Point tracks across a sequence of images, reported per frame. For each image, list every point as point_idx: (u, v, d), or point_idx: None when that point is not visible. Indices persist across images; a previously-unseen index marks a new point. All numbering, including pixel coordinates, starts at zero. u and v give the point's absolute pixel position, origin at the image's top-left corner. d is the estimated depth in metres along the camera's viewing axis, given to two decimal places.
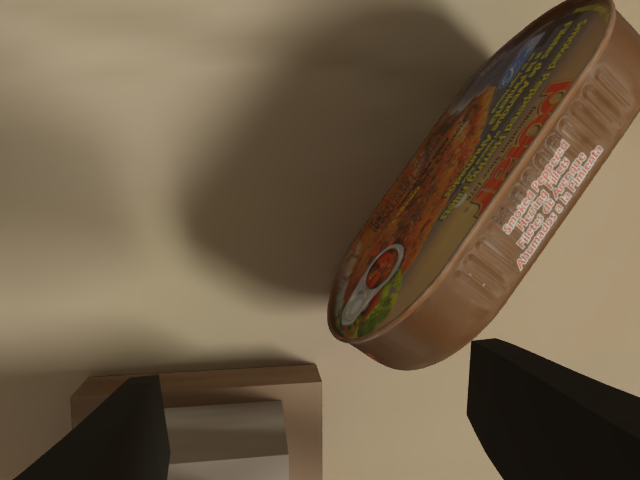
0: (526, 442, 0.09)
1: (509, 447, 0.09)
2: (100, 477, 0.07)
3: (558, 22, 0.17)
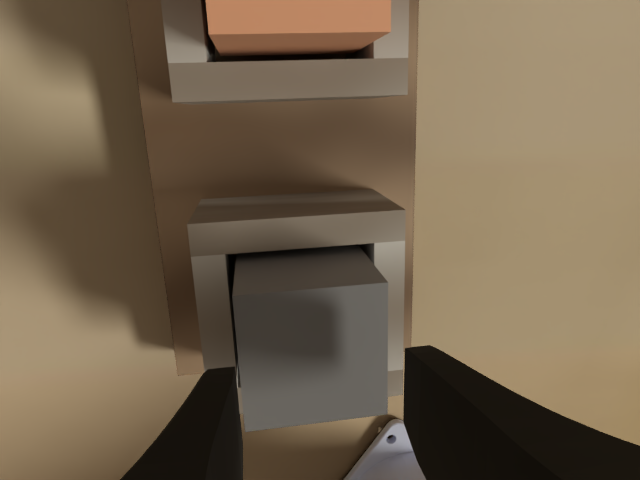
0: (447, 453, 0.09)
1: (434, 457, 0.09)
2: (213, 462, 0.07)
3: None
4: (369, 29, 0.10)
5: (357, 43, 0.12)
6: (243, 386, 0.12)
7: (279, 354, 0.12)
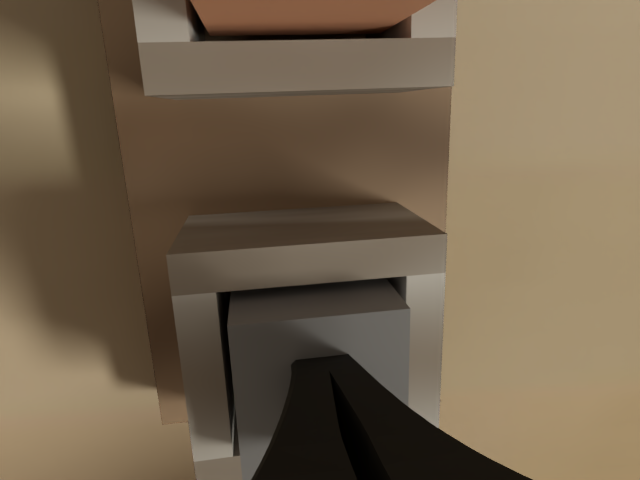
0: None
1: None
2: None
3: None
4: None
5: (392, 15, 0.09)
6: (240, 429, 0.10)
7: (282, 393, 0.10)
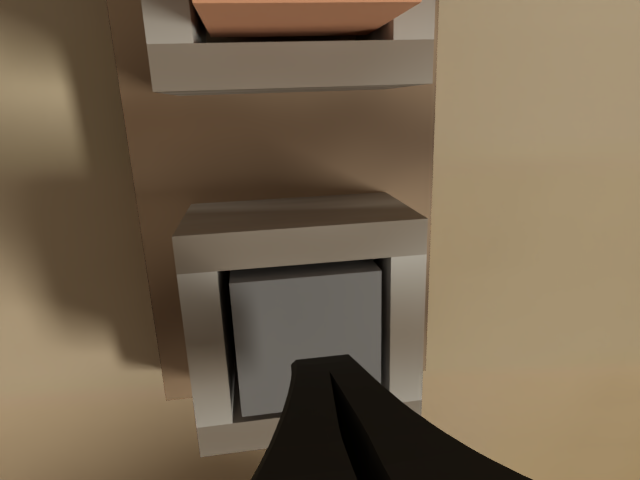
0: None
1: None
2: None
3: None
4: None
5: (375, 20, 0.10)
6: (240, 372, 0.12)
7: (275, 341, 0.12)
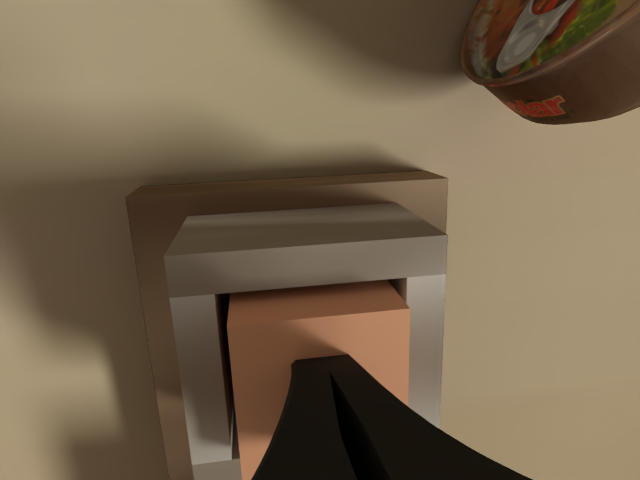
0: None
1: None
2: None
3: None
4: None
5: None
6: None
7: None
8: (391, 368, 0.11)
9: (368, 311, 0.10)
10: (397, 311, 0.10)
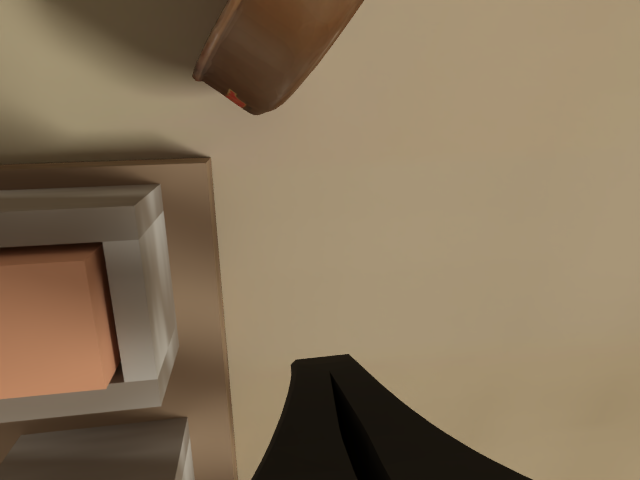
0: None
1: None
2: None
3: None
4: (88, 389, 0.13)
5: None
6: None
7: None
8: (76, 311, 0.13)
9: (48, 262, 0.12)
10: (72, 262, 0.12)
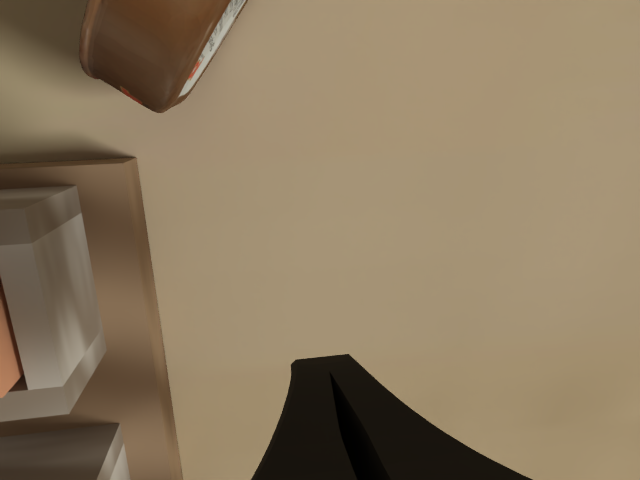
0: None
1: None
2: None
3: None
4: None
5: None
6: None
7: None
8: None
9: None
10: None
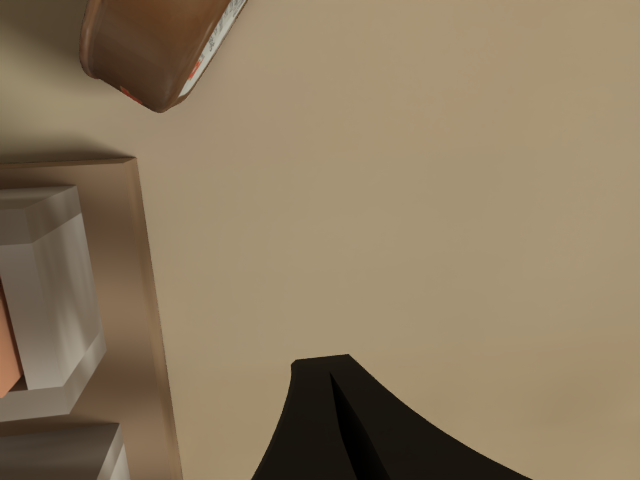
0: None
1: None
2: None
3: None
4: None
5: None
6: None
7: None
8: None
9: None
10: None
